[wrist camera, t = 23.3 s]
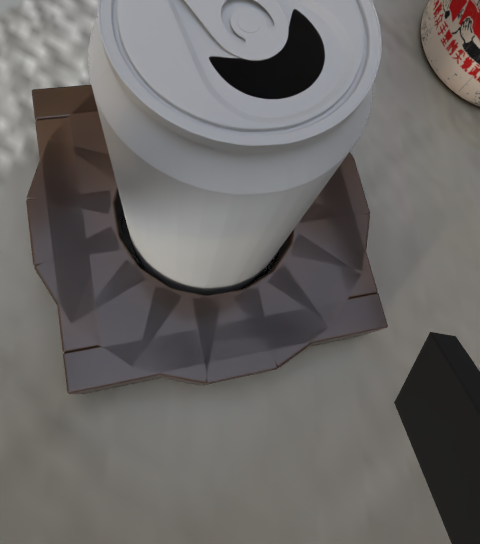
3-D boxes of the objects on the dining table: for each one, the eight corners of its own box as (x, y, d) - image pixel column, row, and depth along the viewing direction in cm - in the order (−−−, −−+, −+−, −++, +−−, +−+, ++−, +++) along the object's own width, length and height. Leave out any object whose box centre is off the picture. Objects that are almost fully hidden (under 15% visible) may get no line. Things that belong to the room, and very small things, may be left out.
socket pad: (380, 346, 20) (408, 340, 18) (65, 415, 17) (49, 418, 15) (307, 87, 23) (323, 52, 21) (30, 113, 20) (12, 76, 18)
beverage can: (190, 331, 19) (220, 231, 8) (100, 214, 20) (4, -39, 8) (302, 245, 21) (464, 59, 9) (215, 141, 21) (267, -150, 10)
